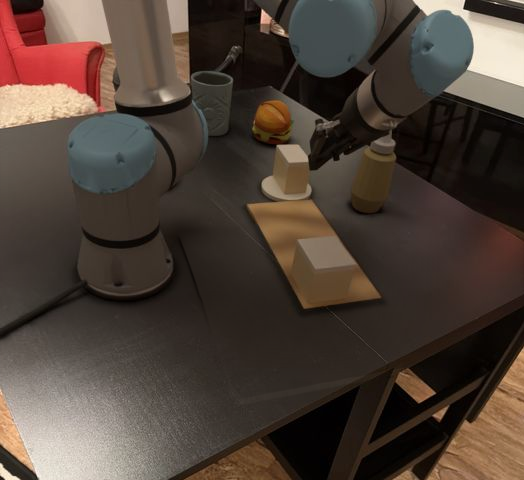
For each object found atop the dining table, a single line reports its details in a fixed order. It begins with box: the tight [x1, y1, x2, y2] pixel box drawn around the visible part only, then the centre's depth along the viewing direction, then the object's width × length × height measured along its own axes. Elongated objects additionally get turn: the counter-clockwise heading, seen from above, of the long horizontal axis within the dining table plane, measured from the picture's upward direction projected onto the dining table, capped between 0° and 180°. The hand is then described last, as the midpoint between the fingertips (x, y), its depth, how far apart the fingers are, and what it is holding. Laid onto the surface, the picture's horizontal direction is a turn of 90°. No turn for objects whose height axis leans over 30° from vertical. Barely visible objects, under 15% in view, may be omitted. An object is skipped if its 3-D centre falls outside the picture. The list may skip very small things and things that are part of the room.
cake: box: [291, 236, 357, 303], centre depth 79 cm, size 8×7×7 cm
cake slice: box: [272, 144, 311, 194], centre depth 102 cm, size 8×5×7 cm, turn 17°
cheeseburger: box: [251, 99, 295, 145], centre depth 119 cm, size 10×11×10 cm
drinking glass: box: [190, 70, 234, 137], centre depth 118 cm, size 10×10×12 cm
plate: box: [260, 174, 313, 202], centre depth 104 cm, size 11×11×1 cm
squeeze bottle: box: [349, 129, 397, 214], centre depth 97 cm, size 8×8×18 cm
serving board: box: [246, 199, 383, 309], centre depth 89 cm, size 32×14×1 cm, turn 18°
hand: (312, 163), depth 90 cm, fingers closed
